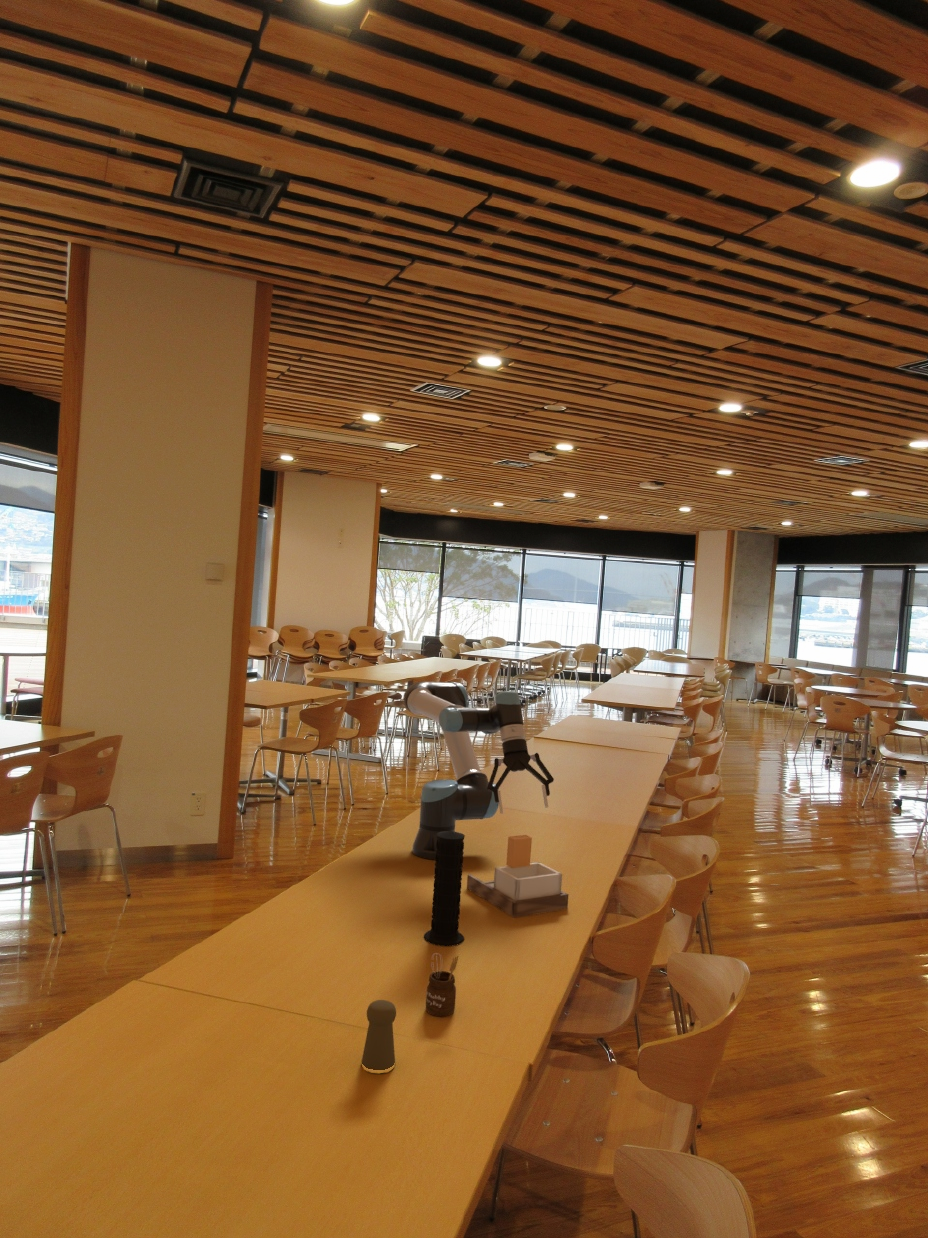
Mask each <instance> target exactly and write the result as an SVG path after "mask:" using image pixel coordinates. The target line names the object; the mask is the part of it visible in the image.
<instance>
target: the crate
mask: <svg viewBox="0 0 928 1238" xmlns="http://www.w3.org/2000/svg"><path fill="white" fill-rule="evenodd" d="M532 839H533V837H531V836H529V835H527V834H523V835H521V834H520V835H513V836H508V838H507V849H506V850H507V852H506V864H505V865H506V866H505V865H504V866H497V867H494V873H493V875H494V876H493V877H494V878H493V880H494V889H496V890H498V891H500V892H501V893H503V894H505V895H506V896H508V897H510V898H511V899H513V900H515V901H518V900H525V899H532V898H538V897H545V896H552V895H558V894H561V891H562V885H563V883H562V880H563V874H562V873H561V872H559V871H557V870H555V869H553V868H552V867H549V866H547V865H546V864H544V863H541V862H539V861H538V862H532V863H531V855H532V854H531V853H532V843H533V841H532Z"/></svg>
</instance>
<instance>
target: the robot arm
mask: <svg viewBox="0 0 928 1238" xmlns="http://www.w3.org/2000/svg"><path fill="white" fill-rule="evenodd" d="M402 698H403V700H402V701H403V705H404V707H405V709H407V711H408V712H410V713H412V714H414V715H415V716H425V717H427V718H428V719H430V720H433V721H435V722H436V723H437V724H439V726H440V729H441V731H442V734H443V738H444V741H445V744H446V747H447V751H448V755H449V759H450V761H451V765H452V769H453V772H454V775H455V776H454V777H455V779H450V778H449V779H448V778H447V779H444V778H439V779H434V780H430V781H428V782H426V783H425V784H423V786H422V787H421V794H420V807H419V808H420V811H419V826H418V828H419V829H418V830H417V833H416V836H415V839H414V841H413V844H412V854H414V856H417V857H419V858H423V859H427V860H428V859H429V860H435V857H436V850H437V848H436V843H437V833H439V832H443V831H454V832H456V821H468V820H469V821H470V820H484V819H491V818H493V817H494V816H495V815H496V814H497V811H498V808H499V812H500V815H503V814H504V808H503V801H502V796H501V795H502V794H501V790H499V789H500V788H501V786H502V784H503V783H504V781H505V779H506V778H507V777H508V775H509V773H510V772H512V773H516V772H518V771H519V772H523V771H525V770H526V771H527V772H529V773H530V774H531V775H532V776H534V778H535V779H537V780H538V781H539V782H540V783H542V785H541V790H542V797H543V803H544V809H548V808H549V802H548V801H549V800H548V797H549V796H550V794H551V791H550V784H552V783H553V782H554V780H555V778H554V777H553V776H552V774H551V773H550V772H549V770H548V769H547V766H545V764H544V763H543V761H542V760H541V757H540V754H539V753H538V752H536V753H535V754H531V755H530V754H529V751H528V744H527V740H526V732H525V726H524V718H523V712H522V703H521V700H520V695H519V693H518V692H516V691H515V690H508V691H507V690H506V691H505V690H504V691H501V692H499V693H496V695H495V697H494V698H495V701H494V702H495V705H493V706H492V707H469V704H470V703H469V695H468V691H467V689H466V687H465V686H464V685H463V684H462V683H460V682H455V681H450V680H449V681H427V680H425V681H418V682H415V683H412V684H411V685H409V686H408V687H407V688H406V689H405V690H404V694H403V697H402ZM469 732H475V733H476V732H482V733H483V734H485V735H494V734H496V733H499V732H500V739H501V741H500V742H502V744H501V746H502V753H503V758H497V757H495V758H494V760H493V764H494V766H493V769H492V772H491V775H490V778H489V779H488V776H487V774H486V773H484V772H482V771H481V769H480V765H479V762H478V759H477V756H476V753H475V750H474V745H473V743H472V739H471V737H470V733H469ZM531 760H532V761H533V762H535V763H536V765H537V766H538V767H539V769H540V770H541V772H542V773H543V775H544V776H545V777H544V776H543V775H542V774H541V773H540V772H539V771H537V770H536V769H535V768H534V767H533V766H532V765H531V764H530V761H531ZM502 764H504V765H505V766H506V767H505V768H504V771H503V773H502V774H501V776H500V777H499V779H498V780H497V782H496V783H495V780H496V776H497V774H498V770H499V767H501V766H502Z"/></svg>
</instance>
